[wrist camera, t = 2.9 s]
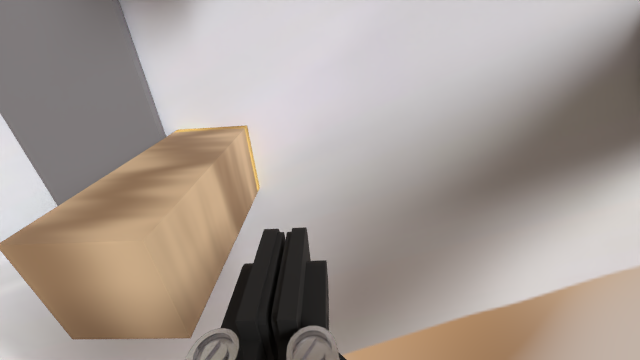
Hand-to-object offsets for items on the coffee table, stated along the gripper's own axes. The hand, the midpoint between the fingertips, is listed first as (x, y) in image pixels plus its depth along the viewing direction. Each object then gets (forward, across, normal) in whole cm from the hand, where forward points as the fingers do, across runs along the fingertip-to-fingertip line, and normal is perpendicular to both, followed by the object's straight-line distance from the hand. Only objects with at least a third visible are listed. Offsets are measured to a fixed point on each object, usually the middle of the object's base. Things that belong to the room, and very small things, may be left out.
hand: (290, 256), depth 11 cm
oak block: (+10, +6, 0) cm, 12 cm away
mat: (+10, +15, 0) cm, 18 cm away
